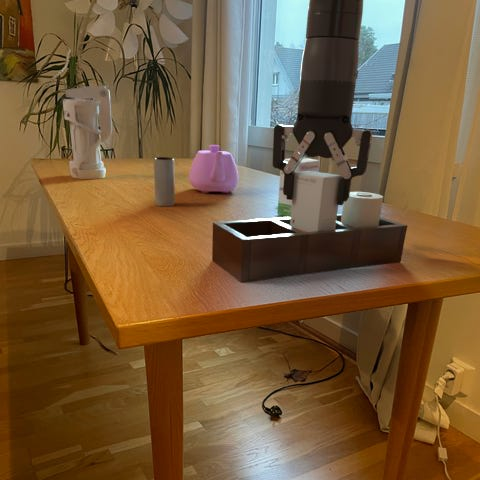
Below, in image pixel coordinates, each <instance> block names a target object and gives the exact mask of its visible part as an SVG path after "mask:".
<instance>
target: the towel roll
mask: <svg viewBox="0 0 480 480" xmlns="http://www.w3.org/2000/svg"><path fill="white" fill-rule="evenodd" d="M383 201H384V196H383V195H382V194H378V193H374V192H367V191H350V195H349V198H348V200H347V201H346V202H345V201H344V204H343V205H342V211H341V214H342V217H341V223H344V224H347V225H349V226H352V227H355V228H361V227H372V226H379V221H380V217H381V214H382V208H383Z"/></svg>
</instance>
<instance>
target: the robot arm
mask: <svg viewBox="0 0 480 480" xmlns="http://www.w3.org/2000/svg"><path fill="white" fill-rule="evenodd" d="M363 13H364V0H309V3H308V9H307V18H306V28H305V29H306V30H305V41H304V48H303V52H302V57H301V65H300V78H299V79H300V80H299V88H298V89H299V90H298V101H297V113H296V119H295V120H296V121H295V123H294V125H285V124H276V125H274V127H273V141H272V144H273V145H272V148H273V149H272V168H274V169H278V170H282V171H283V172H284V186H283V193H284V195H287V199H288V200H292V194H293V183H294V173H295V169H296V168H297V167H298V165H299V164H300V162H301V161H302V160H303V159H304V158H306V156H307V158H316V157H320V158H324V159H331V158H333V160H334V162H335V164H336V166H337V167H338V170H339V171H340V174H341V176H342V178H341V179H340V186H339V194H338V202H337V205H338V206H343V204H344V201H345V202H346V201H347V200H348V198H349V195H350V192H351V187H352V180H353V178H355V177H360V176H363V175H365V173H366V172H367V169H368V168H367V167H368V162H369V158H370V151H371V145H372V139H373V134H374V133H373V130H371V129H365V130H364V129H355V128H353V125H352V116H353V108H354V102H355V101H354V99H355V92H356V84H357V80H358V74H359V69H358V68H359V59H360V58H359V57H360V46H359V45H360V37H361V31H362V30H361V28H362V21H363ZM292 134H293V137H294V138H295V140H296V142H297V144H298V146H297V148H296V149H295V151H294V152H293V153H292V155H291V157H290V158H291V159H290V158H289V159H290V160H289V162H287V161H285V159H286V142H287V141H289V140H290V137H291V135H292ZM352 137H353V139H354V140H355V145H356V146H357V147H359V150H358V156H357V161H356V166H353V167H352V166H351V163H350V161H349V158H348V156H347V154H346V151H345V149H344V147H345V146H346V145H347V144H348V142H349V141H350V140H351V138H352Z"/></svg>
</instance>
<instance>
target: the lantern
mask: <svg viewBox="0 0 480 480" xmlns="http://www.w3.org/2000/svg"><path fill="white" fill-rule="evenodd" d="M107 87H108V85H89V86H88V85H87V86H80V87H75V88H68V89H64V92H65V98H63V99H62V107H63V117H64V120H66V121H69V130H70V132H69V133H70V141H71V153H72V160H70V161H68V165H69V172H70V175H71V178H73V179H81V180H99V179H104V178H105V177H106V173H107V168H106V167H105V165H104V161H102V155H101V146H100V145H102V144H103V143H106V141H107V140H108V139H109V137H110V136H111V135H112V133H113V121H112V106H111V93H110V92H111V91H110V89H108V88H107ZM96 99H97V100H96Z"/></svg>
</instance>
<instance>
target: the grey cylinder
mask: <svg viewBox="0 0 480 480" xmlns="http://www.w3.org/2000/svg"><path fill="white" fill-rule="evenodd" d="M153 180H154V183H153V184H154V203H155V206H158V207H173V206H175V205H176V192H175V191H176V190H175V186H176V185H175V158H174V157H167V156H158V157H157V156H156V157H153Z"/></svg>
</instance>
